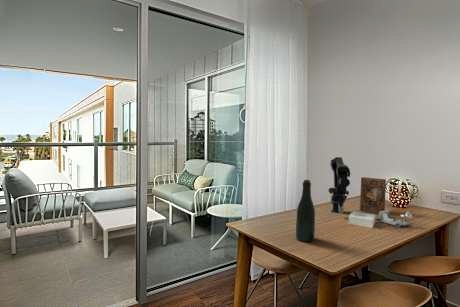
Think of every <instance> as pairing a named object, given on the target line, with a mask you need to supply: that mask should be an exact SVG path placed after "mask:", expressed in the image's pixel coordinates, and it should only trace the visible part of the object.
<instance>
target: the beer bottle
mask: <svg viewBox="0 0 460 307" xmlns="http://www.w3.org/2000/svg"><path fill="white" fill-rule="evenodd" d="M311 186H312V182H311V180H310V179H303V182H302V190H301V193H302V194H301V197H300V200H299V202H298V205H297V207H296V216H295V231H294V232H295V235H294V237H295V239H296V240H298V241H300V242H303V243H311V242H313V241H315V238H316V210H315V209H316V208H315V205H314V202H313V200H312V194H311Z"/></svg>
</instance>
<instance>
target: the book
mask: <svg viewBox="0 0 460 307" xmlns="http://www.w3.org/2000/svg"><path fill="white" fill-rule="evenodd" d="M360 178H361V179H360V196H359V212H363V213H371V212H372V213H371V214H378V213H379V212H380V211H385V210H386V209H385V208H386V206H385V205H386V190H387V189H386V188H387V187H386V186H387V179H384V178H374V177H360Z"/></svg>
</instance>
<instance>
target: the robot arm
mask: <svg viewBox="0 0 460 307" xmlns="http://www.w3.org/2000/svg"><path fill="white" fill-rule="evenodd" d="M329 164H330V168H331V171H332V172H333V187H329V188H328V192H329V195H331V196H330V203H331V205H332V210H331V212H332V213H337V214H338V213H339V212H338V210H339V206H340V207H342V205H343V203H344V204H345V202H346V200H347V198H348V196H349V195H350V194H349V193H350V191H349V190H348V189H347V188H348V187H349V185H350V184H351V181H350V179H348V178H350V177H351V170H350V167H348V165H347V164H345V162H344V161H343V157H340V156H339V157H338V156H337V157H336V156H335V157H334V158H333V159H331V160H330V163H329ZM339 214H340V213H339Z"/></svg>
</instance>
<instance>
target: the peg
mask: <svg viewBox="0 0 460 307" xmlns="http://www.w3.org/2000/svg"><path fill="white" fill-rule="evenodd" d="M344 205H345V202H344V203H343V205H342V207H340V206H339V210H338V212H339V214H344V208H345V206H344Z"/></svg>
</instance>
